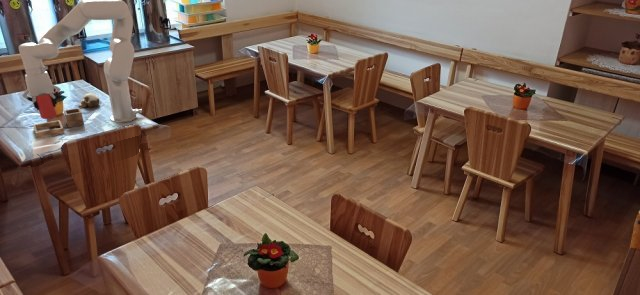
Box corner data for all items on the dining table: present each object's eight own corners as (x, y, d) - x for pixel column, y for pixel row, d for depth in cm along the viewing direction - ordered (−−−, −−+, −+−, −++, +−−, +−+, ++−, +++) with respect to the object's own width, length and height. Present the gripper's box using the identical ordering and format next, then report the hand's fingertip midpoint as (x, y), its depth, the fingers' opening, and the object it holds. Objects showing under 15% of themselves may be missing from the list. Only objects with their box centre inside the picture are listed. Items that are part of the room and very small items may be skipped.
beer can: (50, 120, 224) (43, 95, 219) (38, 119, 225) (30, 95, 220) (59, 114, 230) (53, 90, 225) (47, 113, 231) (40, 90, 226)
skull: (72, 108, 256) (76, 91, 259) (83, 115, 266) (87, 98, 269) (92, 109, 254) (97, 91, 257) (103, 116, 264) (107, 99, 267)
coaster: (85, 126, 237) (84, 125, 237) (88, 133, 230) (88, 131, 230) (64, 130, 232) (64, 129, 232) (67, 137, 226) (67, 135, 225)
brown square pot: (81, 120, 244) (79, 107, 241) (84, 125, 238) (81, 112, 235) (66, 123, 240) (63, 110, 237) (68, 128, 235) (65, 114, 232)
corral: (61, 125, 238) (59, 120, 236) (64, 133, 229) (63, 128, 228) (34, 130, 232) (33, 124, 230) (37, 139, 223) (35, 133, 222)
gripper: (55, 65, 225) (65, 101, 233) (12, 72, 216) (24, 109, 224) (57, 69, 219) (67, 106, 227) (13, 76, 211) (26, 114, 219)
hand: (46, 107), depth 226 cm, fingers closed on beer can, 6 cm apart
